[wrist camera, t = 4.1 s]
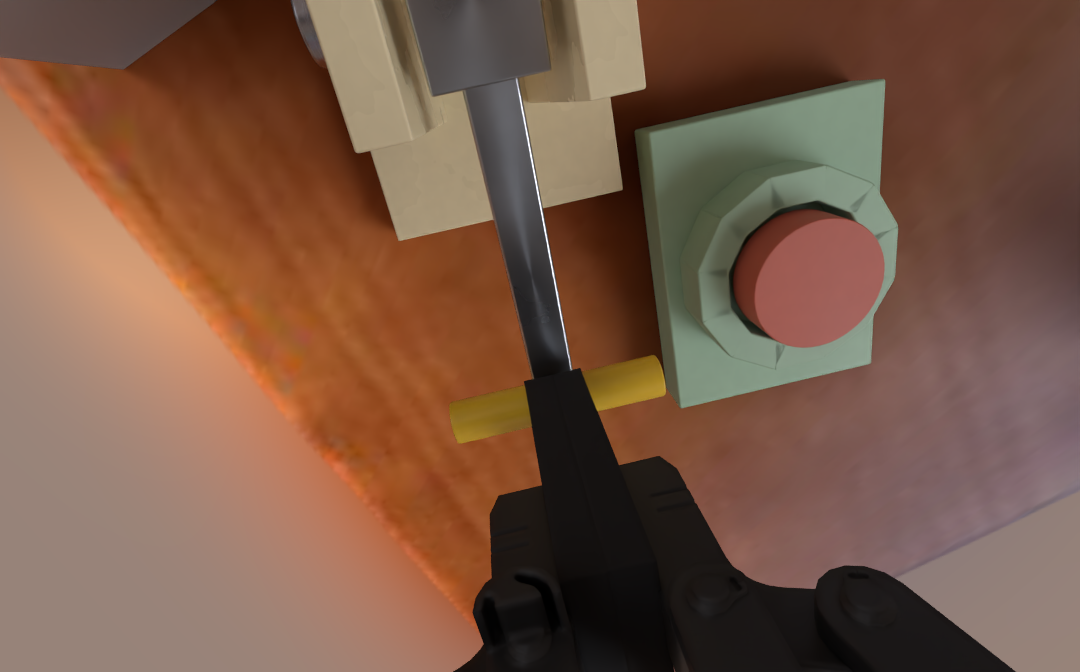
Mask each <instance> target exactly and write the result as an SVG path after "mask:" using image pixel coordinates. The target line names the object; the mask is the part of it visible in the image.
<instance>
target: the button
mask: <svg viewBox="0 0 1080 672" xmlns="http://www.w3.org/2000/svg"><path fill="white" fill-rule="evenodd" d="M884 271H885V263H884V256H883V252H882V249H881V246H880V244H879V242H878V240H877V239H876V238H875V236H874V235H873V233H872V232H870V231H869V230H868V229H867V228H866V227H865V226H863V225H862V224H860V223H858V222H855V221H853V220H850V219H847V218H843V217H840V216H837V215H834V214H830V213H827V212H824V211H820V210H815V209H799V210H793V211H790V212H786V213H784V214H781V215H779V216H777V217H775V218H773V219H771V220H770V221H768V222H767V223H765V224H764V225H763V226H761V227H760V228H759V229H758V230H757V231H756V232H755V233H754V234H753V235H752V236H751V238H750V239H749V240H748V241H747V243H746V244H745V246H744V247H743V249H742V251H741V253H740V255H739V257H738V260H737V262H736V266H735V270H734V276H733V289H734V295H735V299H736V302H737V304H738V306H739V308H740V310H741V311H742V313H743V314H744V315H745V316H746V317H747V318H748V319H749V320H750V321H751V322H753V323H754V324H755V325H756V326H758V327H759V328H760V329H761V330H763V331H764V332H765V333H767V334H768V335H769V336H770V337H772V338H773V339H774V340H776V341H778V342H780V343H782V344H785V345H787V346H792V347H800V348H807V347H815V346H820V345H824V344H827V343H830V342H832V341H834V340H836V339H838V338H840V337H842V336H844V335H845V334H847V333H848V332H849V331H851V330H852V329H853V328H854V327H856V326H857V325H858V324H859V323H860V322H861V321H862V320H863V319H864V318H865V316H866V315H867V314H868V313H869V311H870V310H871V308H872V307H873V305H874V303H875V301H876V299H877V298H878V295H879V293H880V290H881V287H882V283H883V279H884Z"/></svg>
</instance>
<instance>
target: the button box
mask: <svg viewBox="0 0 1080 672" xmlns="http://www.w3.org/2000/svg"><path fill="white" fill-rule="evenodd" d="M884 95H885V80H884V79H874V80H859V81H849V82H845V83H840V84H836V85H831V86H827V87H822V88H818V89H814V90H809V91H805V92H800V93H796V94H791V95H787V96H783V97H778V98H774V99H769V100H765V101H760V102H756V103H752V104H747V105H743V106H738V107H734V108H729V109H725V110H721V111H716V112H712V113H707V114H703V115H698V116H694V117H690V118H685V119H681V120H676V121H672V122H667V123H663V124H659V125H654V126H650V127H645V128H641V129H637V130H635V140H636V148H637V156H638V164H639V172H640V180H641V188H642V196H643V204H644V212H645V220H646V228H647V236H648V244H649V252H650V260H651V268H652V276H653V284H654V292H655V300H656V308H657V316H658V324H659V332H660V340H661V348H662V356H663V364H664V372H665V380H666V388H667V389H668V391H669V392H670V394H671V395H672V397H673V398H674V400H675V401H676V403H677V404H678V406H679V407H680V408H685V407H689V406H693V405H697V404H702V403H706V402H710V401H714V400H719V399H723V398H727V397H731V396H736V395H740V394H744V393H748V392H753V391H757V390H761V389H765V388H769V387H774V386H778V385H782V384H786V383H791V382H795V381H799V380H803V379H808V378H812V377H816V376H820V375H825V374H829V373H833V372H837V371H842V370H846V369H850V368H854V367H859V366H863V365H867V364H870V363H871V353H872V333H873V315H874V313H875V312H876V310H877V308H878V307H879V305H880V303H881V301H882V300H883V298H884V296H885V294H886V293H887V291H888V289H889V288H890V286H891V284H892V282H893V281H894V277H895V268H896V253H897V238H898V226H897V225H898V224H897V222H896V221H895V219H894V217H893V216H892V214H891V212H890V210H889V209H888V207H887V205H886V204H885V202H884V200H883V198H882V197H881V195H880V175H881V155H882V135H883V115H884ZM799 209H815V210H820V211H824V212H827V213H830V214H834V215H837V216H840V217H843V218H847V219H850V220H853V221H855V222H858V223H860V224H862V225H863V226H865V227H866V228H867V229H868V230H869V231H870V232H872V233H873V235H874V236H875V238H876V239H877V240H878V242H879V244H880V246H881V249H882V252H883V256H884V263H885V271H884V279H883V283H882V287H881V290H880V293H879V295H878V298H877V299H876V301H875V303H874V305H873V307H872V308H871V310H870V311H869V313H868V314H867V315H866V316H865V318H864V319H863V320H862V321H861V322H860V323H859V324H858V325H857V326H856V327H854V328H853V329H852V330H851V331H849V332H848V333H847V334H845V335H844V336H842V337H840V338H838V339H836V340H834V341H832V342H830V343H827V344H824V345H820V346H815V347H807V348H800V347H792V346H787V345H785V344H782V343H780V342H778V341H776V340H774V339H773V338H772V337H770V336H769V335H768V334H767V333H765V332H764V331H763V330H761V329H760V328H759V327H758V326H756V325H755V324H754V323H753V322H751V321H750V320H749V319H748V318H747V317H746V316H745V315H744V314H743V313H742V311H741V310H740V308H739V306H738V304H737V302H736V299H735V295H734V289H733V276H734V270H735V266H736V262H737V260H738V257H739V255H740V253H741V251H742V249H743V247H744V246H745V244H746V243H747V241H748V240H749V239H750V238H751V236H752V235H753V234H754V233H755V232H756V231H757V230H758V229H759V228H760V227H761V226H763V225H764V224H765V223H767V222H768V221H770V220H771V219H773V218H775V217H777V216H779V215H781V214H784V213H786V212H790V211H793V210H799Z"/></svg>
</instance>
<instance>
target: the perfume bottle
mask: <svg viewBox="0 0 1080 672" xmlns="http://www.w3.org/2000/svg"><path fill="white" fill-rule="evenodd" d="M215 1H217V0H0V57H4V58H14V59H24V60H33V61H43V62H53V63H63V64H73V65H83V66H93V67H103V68H113V69H125V68H126V67H127V66H129V65H130V64H132V63H133V62H134V61H136V60H137V59H138V58H140V57H141V56H142V55H144V54H145V53H146V52H148V51H149V50H151V49H152V48H153V47H155V46H156V45H157V44H159V43H160V42H161V41H163V40H164V39H165V38H167V37H168V36H169V35H171V34H172V33H174V32H175V31H176V30H178V29H179V28H180V27H182V26H183V25H184V24H186V23H187V22H188V21H190V20H191V19H192V18H194V17H195V16H197V15H198V14H199V13H201V12H202V11H203V10H205V9H206V8H207V7H209V6H210V5H211V4H213V3H214V2H215Z"/></svg>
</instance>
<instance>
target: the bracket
mask: <svg viewBox="0 0 1080 672" xmlns="http://www.w3.org/2000/svg"><path fill="white" fill-rule="evenodd" d="M290 1H291V5H292V9H293V13H294V16H295V19H296V22H297V25H298V28H299V31H300V33H301V36H302V38H303V40H304V43H305V45H306V47H307V49H308V51H309V52H310V54H311V56H312V57H313V59H314V60H315V62H316V63H317V64H318V65H319V66H320V67H321V68H328V71H329V74H330V77H331V80H332V83H333V86H334V89H335V93H336V96H337V99H338V102H339V105H340V108H341V111H342V114H343V117H344V120H345V123H346V126H347V129H348V132H349V135H350V138H351V141H352V145H353V148H354V151H355V152H356V153H363V152H367V151H370V152H371V155H372V159H373V162H374V165H375V168H376V171H377V174H378V178H379V181H380V184H381V187H382V190H383V193H384V197H385V200H386V203H387V206H388V209H389V212H390V216H391V219H392V222H393V225H394V228H395V231H396V235H397V238H398V240H399V241H402V240H406V239H410V238H415V237H419V236H423V235H428V234H432V233H437V232H441V231H445V230H450V229H454V228H459V227H463V226H467V225H472V224H476V223H481V222H485V221H489V220H494V219H493V215H492V211H491V207H490V203H489V198H488V194H487V190H486V186H485V182H484V178H483V174H482V170H481V165H480V161H479V157H478V153H477V149H476V145H475V141H474V137H473V133H472V128H471V124H470V120H469V116H468V112H467V108H466V104H465V100H464V95H463V91H459V92H454V93H450V94H445V95H441V96H436V97H432V96H431V94H430V91H429V87H428V83H427V80H426V76H425V72H424V69H423V65H422V61H421V58H420V54H419V51H418V47H417V43H416V40H415V36H414V32H413V29H412V25H411V21H410V18H409V14H408V11H407V7H406V3H405V0H290ZM541 2H542V8H543V15H544V21H545V28H546V35H547V41H548V48H549V54H550V61H551V70H550V71H548V72H544V73H539V74H535V75H530V76H526V77H521V78H519V82H520V87H521V93H522V98H523V104H524V109H525V114H526V120H527V125H528V131H529V136H530V141H531V147H532V152H533V158H534V163H535V168H536V174H537V179H538V185H539V190H540V196H541V201H542V206H543V208H546V207H551V206H555V205H560V204H564V203H568V202H573V201H577V200H582V199H586V198H590V197H595V196H599V195H603V194H608V193H612V192H617V191H621V190H623V185H622V178H621V171H620V164H619V156H618V149H617V142H616V135H615V127H614V120H613V113H612V106H611V99H610V97H612V96H617V95H621V94H626V93H630V92H635V91H639V90H643V89H645V88H646V81H645V72H644V63H643V54H642V45H641V36H640V28H639V19H638V10H637V1H636V0H541Z"/></svg>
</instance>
